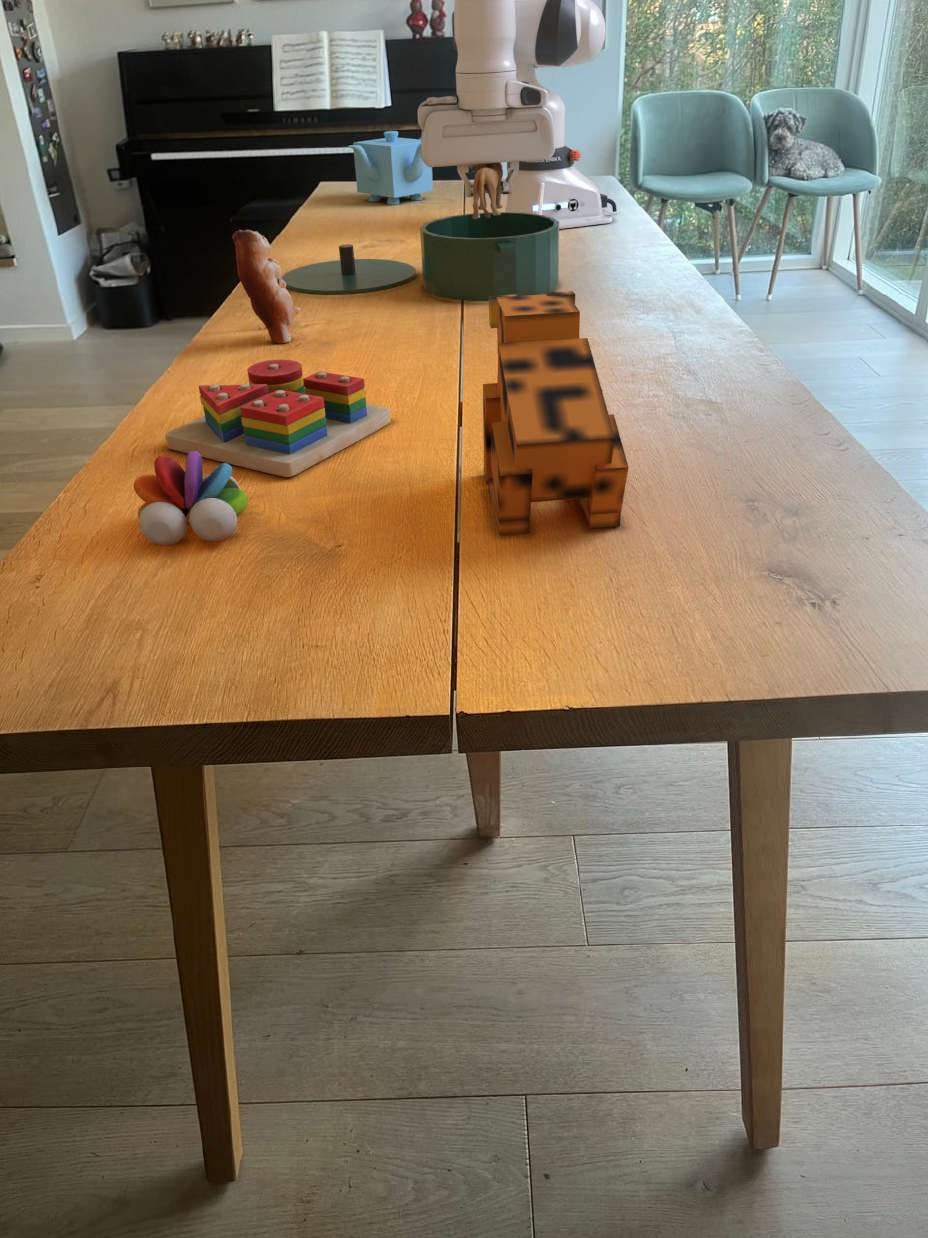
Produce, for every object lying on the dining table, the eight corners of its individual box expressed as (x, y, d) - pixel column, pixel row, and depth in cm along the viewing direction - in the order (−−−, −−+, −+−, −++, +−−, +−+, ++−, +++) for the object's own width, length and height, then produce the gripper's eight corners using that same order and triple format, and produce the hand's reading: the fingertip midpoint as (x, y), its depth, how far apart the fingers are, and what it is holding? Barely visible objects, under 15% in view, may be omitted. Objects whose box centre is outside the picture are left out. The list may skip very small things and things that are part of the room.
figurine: (308, 335, 140) (294, 223, 132) (278, 350, 134) (262, 234, 126) (272, 331, 142) (256, 221, 134) (241, 346, 136) (222, 232, 128)
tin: (535, 263, 172) (536, 205, 167) (578, 301, 150) (580, 235, 145) (413, 273, 169) (410, 214, 164) (438, 313, 147) (434, 247, 142)
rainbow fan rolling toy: (151, 511, 92) (134, 438, 88) (255, 504, 92) (243, 431, 88) (133, 554, 85) (113, 476, 81) (246, 546, 85) (232, 468, 81)
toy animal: (502, 547, 83) (498, 361, 75) (479, 456, 100) (474, 296, 92) (625, 538, 84) (635, 353, 75) (582, 449, 101) (586, 289, 92)
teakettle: (362, 194, 243) (356, 128, 235) (438, 191, 242) (434, 125, 234) (352, 208, 227) (346, 137, 219) (433, 205, 226) (429, 134, 218)
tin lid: (406, 261, 178) (404, 228, 175) (425, 291, 159) (423, 254, 156) (280, 271, 175) (276, 237, 172) (283, 303, 156) (278, 265, 153)
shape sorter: (289, 479, 97) (281, 420, 94) (165, 449, 105) (153, 393, 102) (393, 422, 109) (388, 368, 106) (274, 398, 117) (267, 348, 114)
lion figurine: (469, 205, 159) (466, 143, 154) (502, 203, 159) (500, 142, 154) (472, 222, 146) (470, 156, 142) (508, 220, 146) (507, 154, 142)
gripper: (419, 99, 141) (425, 203, 148) (558, 91, 144) (557, 193, 151) (413, 96, 146) (419, 196, 153) (547, 88, 149) (547, 187, 156)
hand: (488, 194), depth 152 cm, fingers closed on lion figurine, 4 cm apart
